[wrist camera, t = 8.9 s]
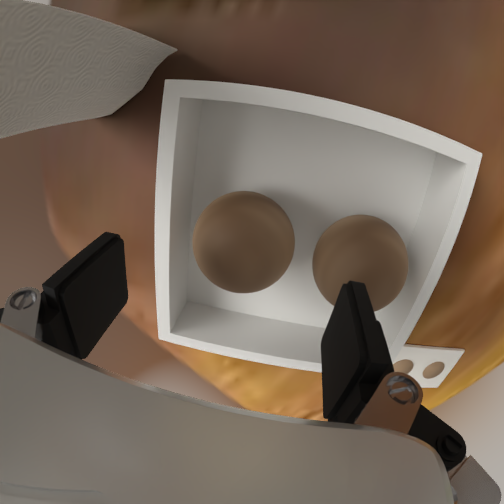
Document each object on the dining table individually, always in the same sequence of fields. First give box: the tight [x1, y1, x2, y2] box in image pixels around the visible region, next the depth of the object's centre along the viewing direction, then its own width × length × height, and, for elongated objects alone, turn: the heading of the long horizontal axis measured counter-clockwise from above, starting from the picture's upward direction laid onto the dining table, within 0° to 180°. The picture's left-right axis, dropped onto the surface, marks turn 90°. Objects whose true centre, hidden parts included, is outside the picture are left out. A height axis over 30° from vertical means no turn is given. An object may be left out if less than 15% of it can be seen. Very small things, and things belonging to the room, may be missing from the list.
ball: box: [312, 215, 408, 312], centre depth 14 cm, size 5×5×5 cm
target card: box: [392, 344, 465, 388], centre depth 21 cm, size 8×5×1 cm, turn 81°
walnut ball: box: [192, 191, 295, 293], centre depth 15 cm, size 5×5×5 cm
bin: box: [155, 79, 482, 372], centre depth 15 cm, size 15×15×4 cm
